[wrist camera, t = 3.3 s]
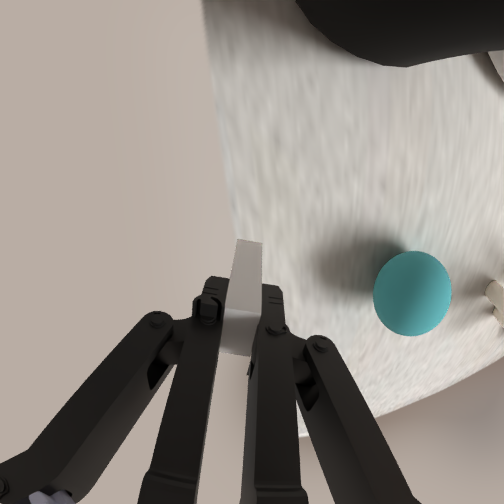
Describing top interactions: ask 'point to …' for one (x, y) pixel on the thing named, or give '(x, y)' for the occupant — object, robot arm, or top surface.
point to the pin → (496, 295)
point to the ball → (412, 293)
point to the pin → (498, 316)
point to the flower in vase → (498, 61)
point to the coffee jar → (409, 28)
